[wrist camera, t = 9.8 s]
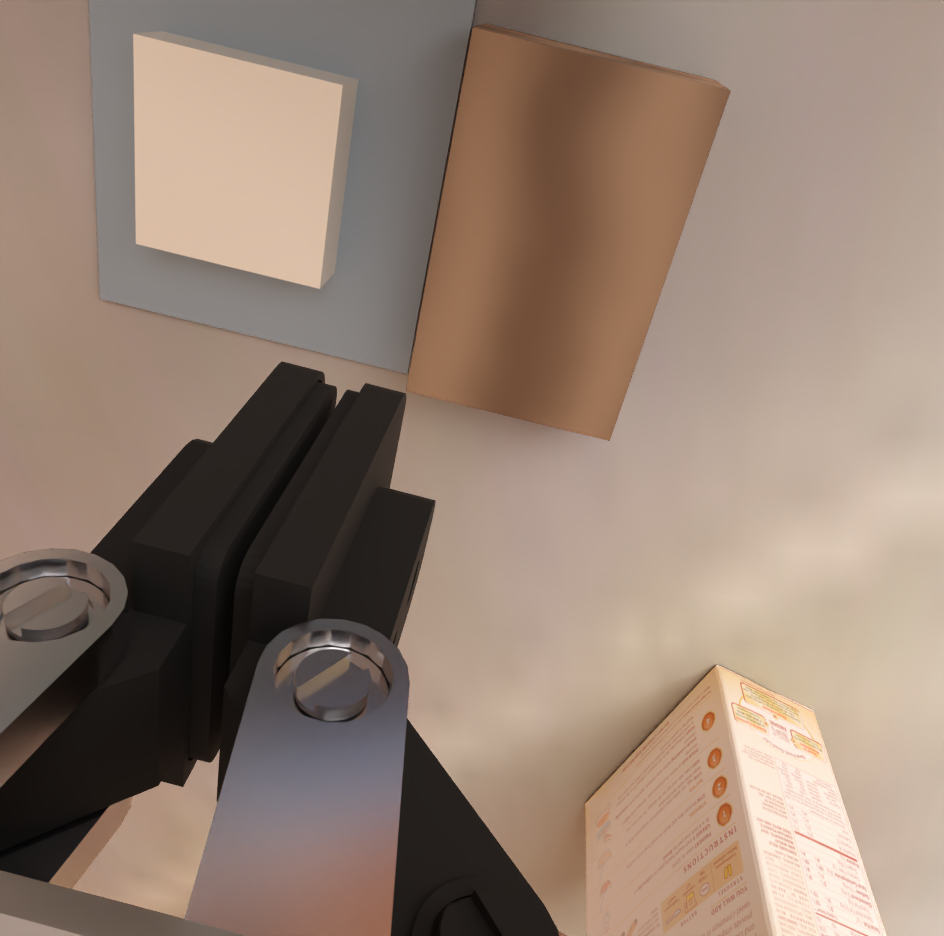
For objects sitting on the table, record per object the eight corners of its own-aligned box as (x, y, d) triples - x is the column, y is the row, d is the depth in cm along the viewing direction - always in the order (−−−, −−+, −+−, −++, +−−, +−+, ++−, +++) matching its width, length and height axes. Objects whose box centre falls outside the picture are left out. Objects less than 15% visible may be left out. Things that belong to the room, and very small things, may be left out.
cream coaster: (133, 33, 30) (162, 31, 32) (135, 243, 34) (161, 229, 36) (342, 85, 30) (358, 79, 32) (319, 288, 34) (335, 271, 36)
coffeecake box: (673, 843, 54) (712, 1226, 37) (580, 802, 53) (577, 1177, 36) (821, 710, 46) (954, 1115, 30) (715, 659, 45) (791, 1049, 29)
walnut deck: (714, 79, 31) (730, 90, 27) (607, 400, 38) (609, 440, 35) (485, 23, 31) (472, 27, 27) (422, 355, 38) (406, 391, 35)
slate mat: (478, -10, 30) (477, -10, 30) (408, 371, 38) (407, 374, 38) (88, -106, 30) (84, -107, 30) (102, 296, 38) (99, 298, 38)
